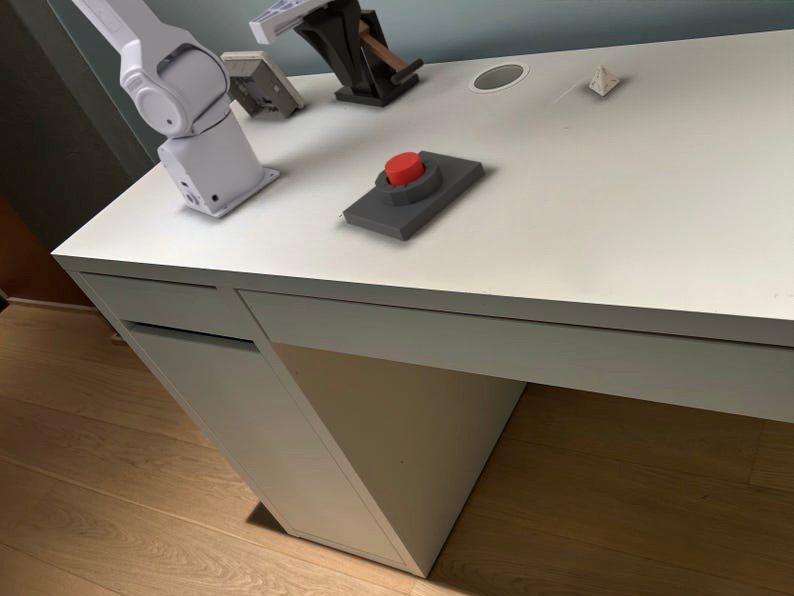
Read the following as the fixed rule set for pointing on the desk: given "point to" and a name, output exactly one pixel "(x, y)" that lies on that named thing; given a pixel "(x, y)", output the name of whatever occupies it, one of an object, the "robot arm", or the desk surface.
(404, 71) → the lever
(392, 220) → the button box
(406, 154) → the button
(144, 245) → the desk surface
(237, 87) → the electrical switch
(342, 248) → the desk surface
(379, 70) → the bracket
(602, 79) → the tetrahedral die
